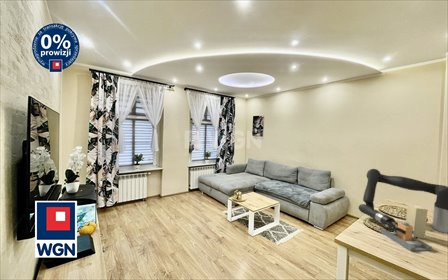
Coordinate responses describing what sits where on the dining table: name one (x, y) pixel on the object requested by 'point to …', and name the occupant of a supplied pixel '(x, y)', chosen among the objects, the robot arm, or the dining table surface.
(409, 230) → the orange block with knob
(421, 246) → the frame
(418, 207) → the pale yellow tall block
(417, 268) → the dining table surface
